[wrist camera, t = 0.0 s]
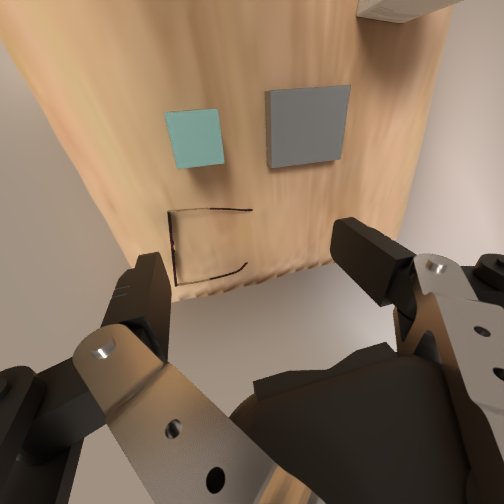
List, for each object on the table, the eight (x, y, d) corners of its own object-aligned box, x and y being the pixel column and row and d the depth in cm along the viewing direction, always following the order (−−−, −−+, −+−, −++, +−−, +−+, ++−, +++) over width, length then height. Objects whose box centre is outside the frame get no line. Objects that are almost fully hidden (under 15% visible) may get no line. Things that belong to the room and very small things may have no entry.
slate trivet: (265, 91, 32) (270, 90, 30) (340, 86, 34) (350, 84, 32) (267, 165, 38) (271, 168, 36) (332, 156, 40) (340, 159, 38)
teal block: (169, 111, 31) (164, 113, 21) (206, 108, 32) (217, 108, 22) (178, 151, 34) (177, 169, 24) (212, 147, 34) (224, 163, 25)
